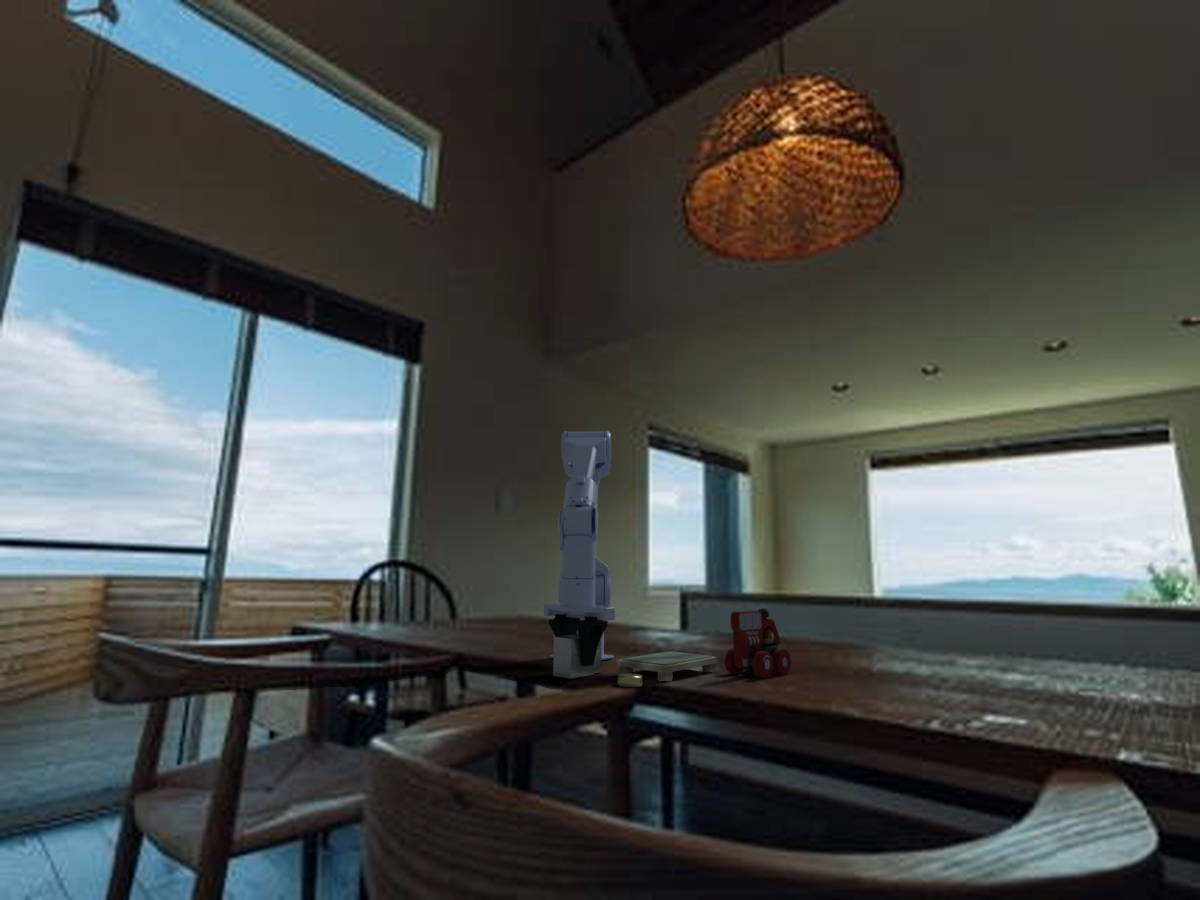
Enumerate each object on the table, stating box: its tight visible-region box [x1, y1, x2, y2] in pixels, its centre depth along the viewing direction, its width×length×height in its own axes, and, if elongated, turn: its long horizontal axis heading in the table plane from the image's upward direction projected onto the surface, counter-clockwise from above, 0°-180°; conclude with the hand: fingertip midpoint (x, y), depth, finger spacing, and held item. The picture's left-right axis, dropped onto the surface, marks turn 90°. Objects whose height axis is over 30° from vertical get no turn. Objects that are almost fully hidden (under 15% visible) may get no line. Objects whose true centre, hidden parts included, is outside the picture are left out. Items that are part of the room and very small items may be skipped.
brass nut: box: [617, 673, 643, 688], centre depth 96 cm, size 4×4×2 cm
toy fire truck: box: [724, 607, 792, 679], centre depth 107 cm, size 7×12×10 cm, turn 132°
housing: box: [552, 633, 602, 679], centre depth 106 cm, size 4×7×6 cm, turn 137°
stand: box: [616, 650, 718, 681], centre depth 106 cm, size 10×14×2 cm
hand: (577, 664), depth 105 cm, fingers closed on housing, 4 cm apart
